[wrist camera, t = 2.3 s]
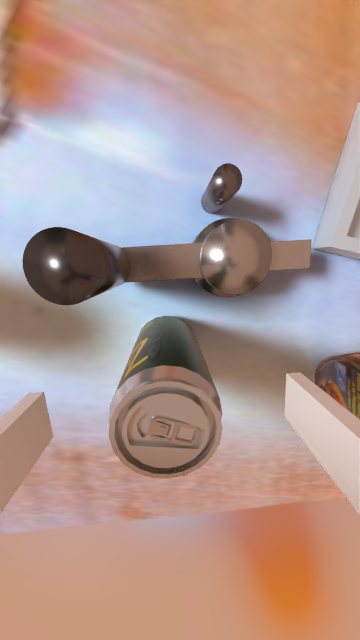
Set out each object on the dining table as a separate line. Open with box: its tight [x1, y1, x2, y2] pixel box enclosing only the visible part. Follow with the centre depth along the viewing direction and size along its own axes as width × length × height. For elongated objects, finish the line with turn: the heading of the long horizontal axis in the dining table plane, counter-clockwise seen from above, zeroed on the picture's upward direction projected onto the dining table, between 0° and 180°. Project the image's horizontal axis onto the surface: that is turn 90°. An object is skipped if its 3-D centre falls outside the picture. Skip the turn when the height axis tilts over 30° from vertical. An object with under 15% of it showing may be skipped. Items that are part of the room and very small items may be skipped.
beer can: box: [109, 316, 222, 478], centre depth 16 cm, size 5×5×12 cm
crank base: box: [193, 163, 242, 297], centre depth 19 cm, size 19×6×5 cm, turn 168°
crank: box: [23, 220, 311, 305], centre depth 14 cm, size 16×5×9 cm, turn 93°
